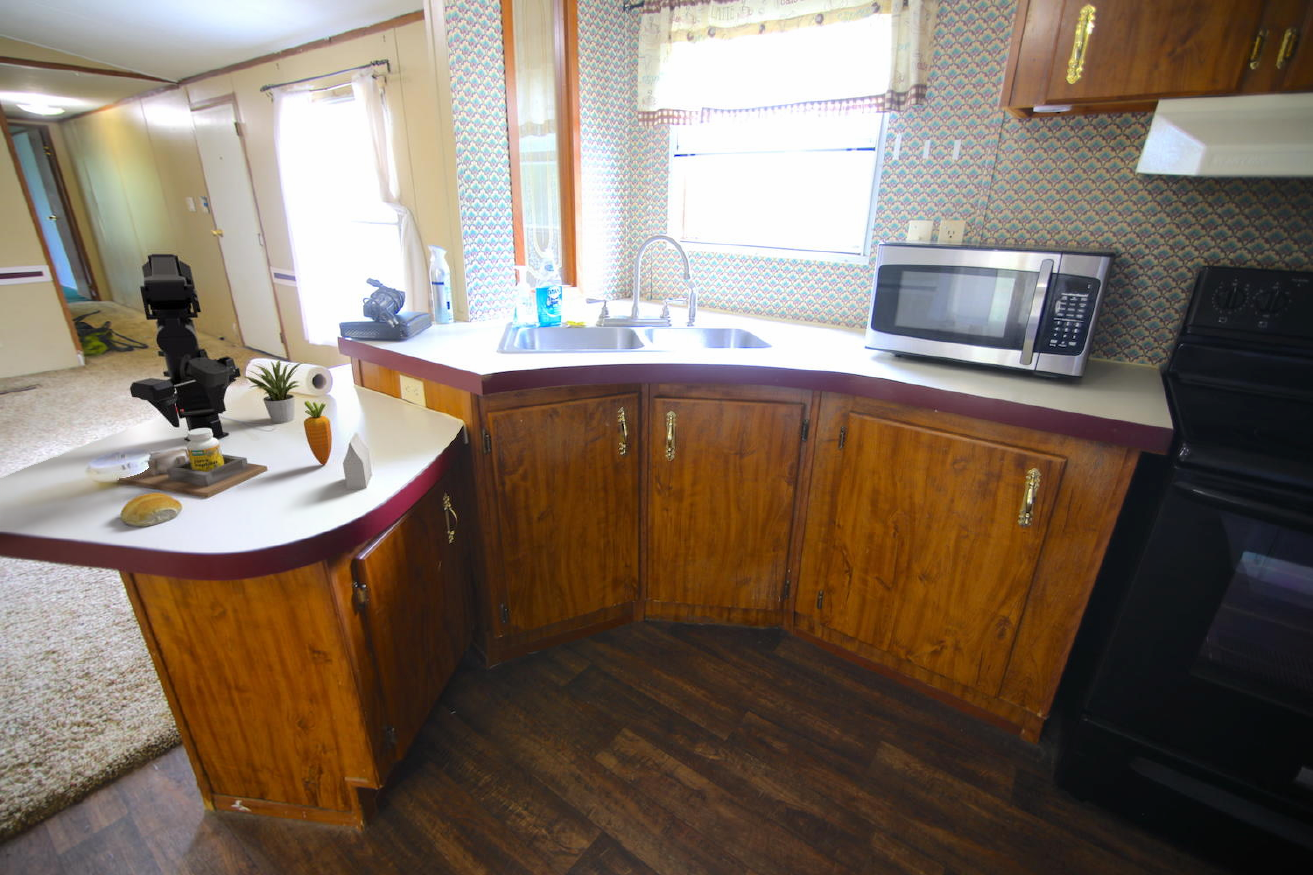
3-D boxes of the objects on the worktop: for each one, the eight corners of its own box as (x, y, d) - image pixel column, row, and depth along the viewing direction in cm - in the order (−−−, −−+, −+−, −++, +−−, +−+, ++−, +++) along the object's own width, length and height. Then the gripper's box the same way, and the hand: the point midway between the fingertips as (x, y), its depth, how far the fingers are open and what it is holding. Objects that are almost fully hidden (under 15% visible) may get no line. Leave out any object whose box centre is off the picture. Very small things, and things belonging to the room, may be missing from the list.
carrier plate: (118, 482, 119) (112, 464, 118) (184, 457, 132) (180, 440, 131) (208, 497, 115) (203, 479, 114) (267, 470, 128) (264, 453, 126)
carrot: (341, 463, 133) (331, 399, 128) (323, 471, 129) (312, 405, 123) (324, 459, 135) (314, 396, 129) (305, 467, 130) (294, 402, 125)
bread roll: (168, 501, 113) (163, 482, 112) (189, 515, 109) (184, 495, 107) (114, 518, 107) (107, 498, 105) (134, 533, 102) (127, 512, 101)
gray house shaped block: (371, 475, 128) (366, 431, 125) (366, 488, 122) (360, 443, 119) (353, 476, 127) (346, 432, 124) (346, 489, 121) (339, 444, 118)
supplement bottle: (226, 467, 126) (216, 424, 122) (226, 476, 122) (215, 433, 118) (194, 472, 123) (183, 428, 120) (193, 481, 119) (182, 437, 116)
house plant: (302, 407, 168) (292, 350, 162) (327, 417, 160) (317, 359, 155) (246, 418, 157) (233, 358, 151) (270, 431, 149) (257, 368, 144)
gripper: (167, 360, 106) (187, 440, 111) (255, 340, 123) (268, 411, 128) (117, 353, 108) (139, 433, 113) (210, 334, 125) (226, 404, 130)
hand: (198, 419), depth 121 cm, fingers open, 9 cm apart
